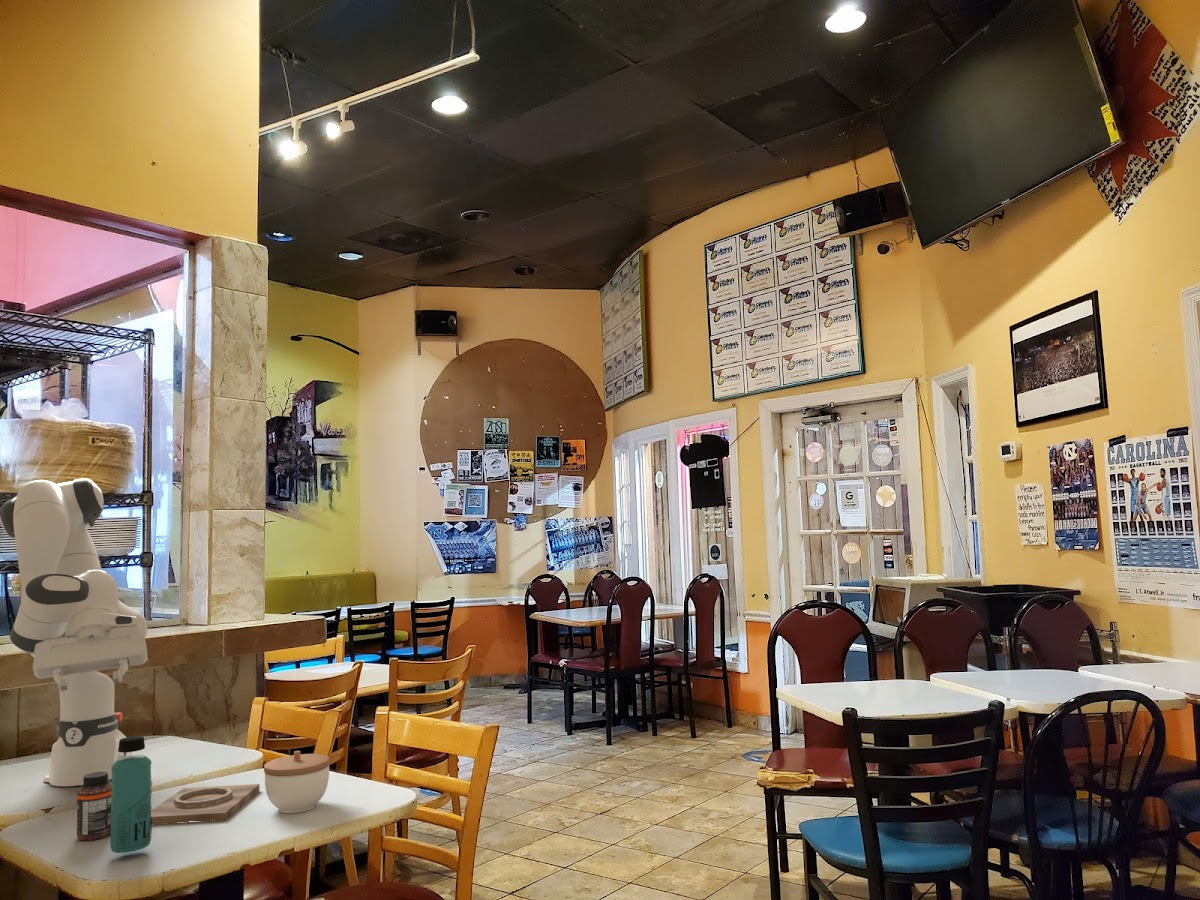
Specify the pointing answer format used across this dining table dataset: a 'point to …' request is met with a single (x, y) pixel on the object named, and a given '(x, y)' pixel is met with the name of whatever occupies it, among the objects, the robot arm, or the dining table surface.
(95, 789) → the supplement bottle
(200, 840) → the dining table surface
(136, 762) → the beverage bottle
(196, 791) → the walnut seat board
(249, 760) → the dining table surface
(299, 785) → the lidded bowl
